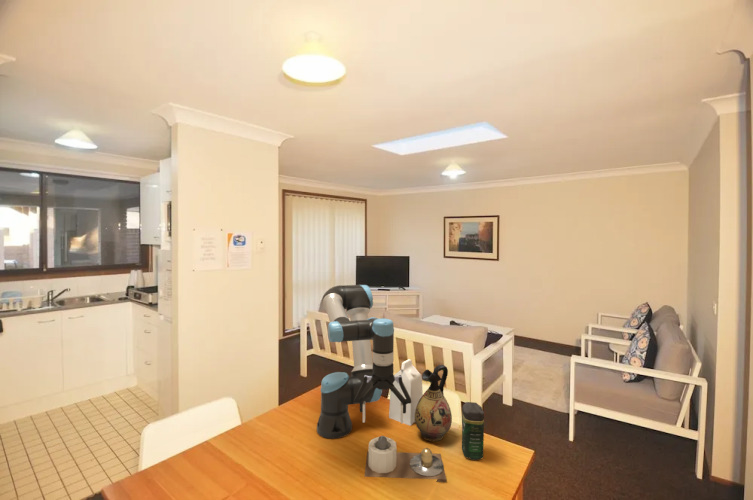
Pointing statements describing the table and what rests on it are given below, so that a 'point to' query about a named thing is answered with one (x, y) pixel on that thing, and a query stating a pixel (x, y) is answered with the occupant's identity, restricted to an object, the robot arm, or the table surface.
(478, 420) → the coffee jar
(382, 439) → the stand rod
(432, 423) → the ceramic jug
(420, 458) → the hub
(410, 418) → the milk
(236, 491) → the table surface
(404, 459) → the board
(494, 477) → the table surface
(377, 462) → the ring
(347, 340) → the robot arm
